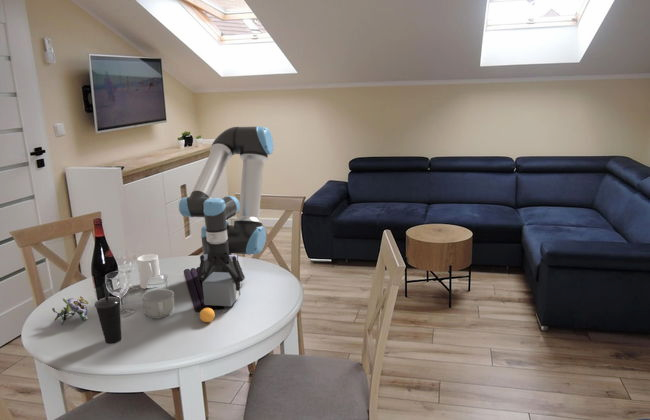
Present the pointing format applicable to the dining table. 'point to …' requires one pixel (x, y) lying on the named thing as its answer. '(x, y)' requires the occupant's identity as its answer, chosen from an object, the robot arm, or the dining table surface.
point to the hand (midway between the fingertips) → (222, 297)
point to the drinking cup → (109, 317)
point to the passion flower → (73, 309)
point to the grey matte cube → (219, 289)
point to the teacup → (158, 302)
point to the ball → (207, 315)
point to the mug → (147, 268)
